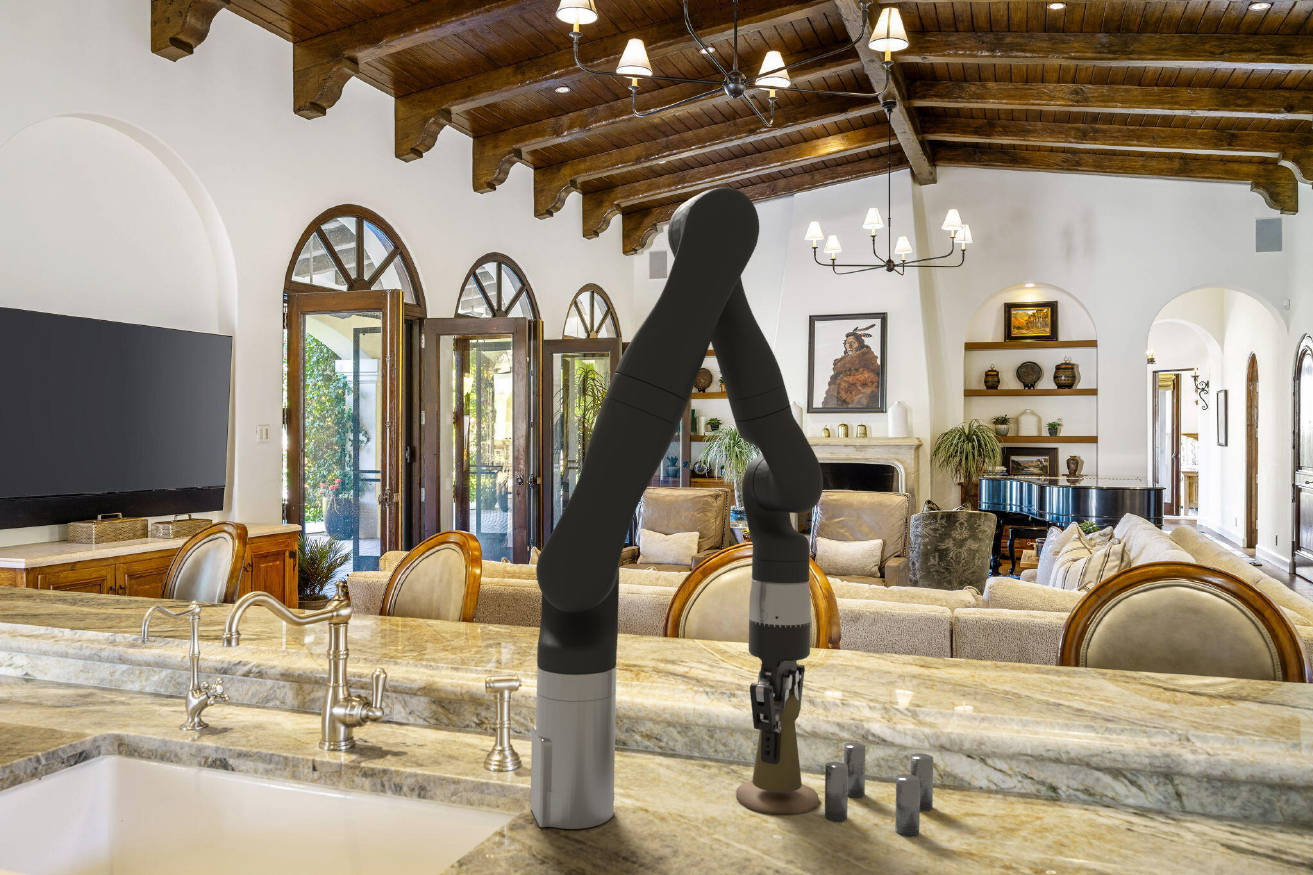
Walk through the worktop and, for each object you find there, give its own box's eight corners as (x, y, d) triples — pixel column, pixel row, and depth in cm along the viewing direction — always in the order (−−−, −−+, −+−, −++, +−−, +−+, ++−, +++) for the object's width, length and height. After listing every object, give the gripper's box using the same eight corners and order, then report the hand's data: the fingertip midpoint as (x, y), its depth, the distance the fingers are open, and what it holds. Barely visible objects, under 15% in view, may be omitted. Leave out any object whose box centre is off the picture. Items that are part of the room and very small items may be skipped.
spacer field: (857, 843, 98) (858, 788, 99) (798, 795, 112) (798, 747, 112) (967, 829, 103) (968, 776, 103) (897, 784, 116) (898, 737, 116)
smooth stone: (756, 819, 105) (756, 813, 105) (723, 787, 114) (723, 783, 114) (833, 809, 108) (833, 804, 108) (795, 780, 117) (795, 775, 117)
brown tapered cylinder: (800, 794, 107) (802, 701, 108) (749, 789, 109) (751, 697, 109) (802, 776, 113) (804, 688, 113) (754, 772, 114) (756, 685, 115)
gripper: (790, 629, 103) (787, 780, 103) (826, 611, 116) (823, 745, 116) (729, 622, 107) (726, 769, 106) (770, 605, 119) (768, 736, 119)
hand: (777, 755), depth 111 cm, fingers closed on brown tapered cylinder, 4 cm apart
